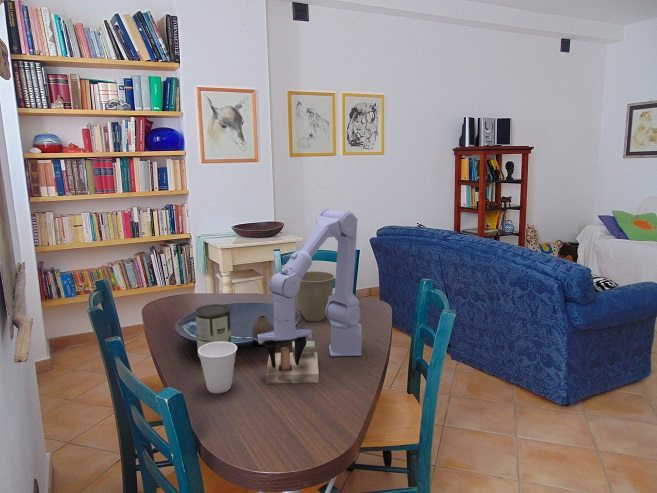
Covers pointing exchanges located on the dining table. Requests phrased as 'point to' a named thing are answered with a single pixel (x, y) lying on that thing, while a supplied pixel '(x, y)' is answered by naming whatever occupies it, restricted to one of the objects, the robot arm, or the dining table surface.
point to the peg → (285, 359)
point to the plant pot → (315, 294)
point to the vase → (261, 327)
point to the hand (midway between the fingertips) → (285, 364)
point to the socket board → (294, 370)
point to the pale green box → (306, 347)
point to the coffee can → (212, 324)
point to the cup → (218, 365)
